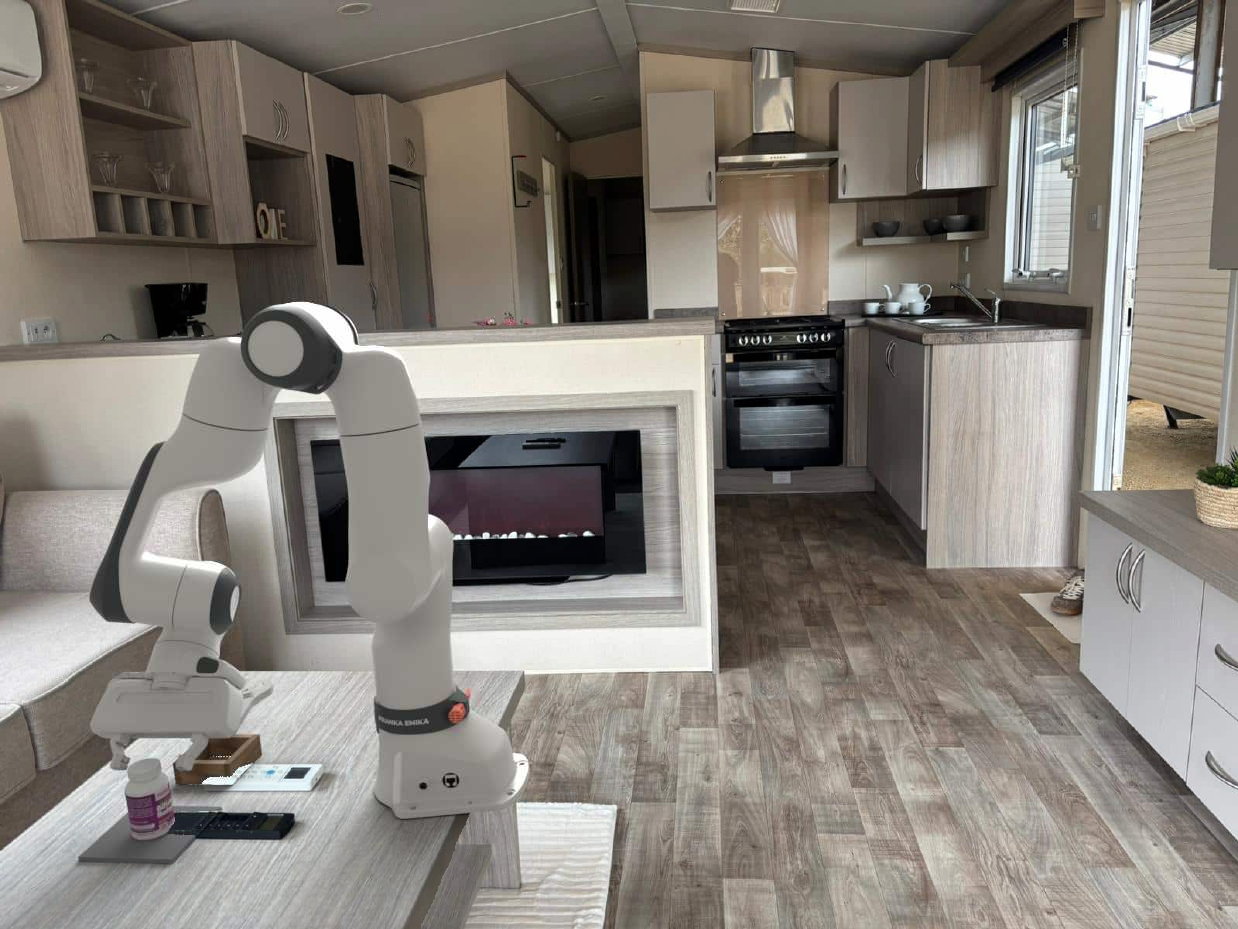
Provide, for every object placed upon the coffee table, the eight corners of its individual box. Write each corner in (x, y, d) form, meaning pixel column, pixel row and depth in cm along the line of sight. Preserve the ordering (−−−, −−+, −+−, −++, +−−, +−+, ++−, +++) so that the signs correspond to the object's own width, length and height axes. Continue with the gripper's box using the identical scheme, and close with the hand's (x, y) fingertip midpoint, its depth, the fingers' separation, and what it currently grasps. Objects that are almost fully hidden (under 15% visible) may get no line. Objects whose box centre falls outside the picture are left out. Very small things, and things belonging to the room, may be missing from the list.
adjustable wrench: (224, 757, 145) (222, 746, 144) (183, 759, 145) (182, 749, 144) (277, 687, 169) (276, 679, 169) (243, 689, 169) (241, 681, 169)
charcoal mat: (222, 810, 128) (221, 806, 128) (172, 863, 117) (171, 859, 116) (136, 809, 130) (135, 805, 130) (78, 861, 118) (78, 857, 118)
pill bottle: (170, 838, 121) (160, 772, 119) (127, 845, 120) (115, 779, 118) (180, 816, 126) (170, 752, 124) (138, 822, 125) (127, 758, 123)
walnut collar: (262, 754, 144) (259, 734, 143) (232, 785, 135) (229, 764, 134) (208, 754, 145) (205, 734, 144) (175, 784, 136) (172, 763, 135)
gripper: (100, 664, 129) (64, 763, 121) (237, 662, 126) (209, 763, 119) (125, 680, 134) (92, 775, 126) (257, 678, 132) (231, 776, 124)
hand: (150, 769), depth 122 cm, fingers open, 8 cm apart
